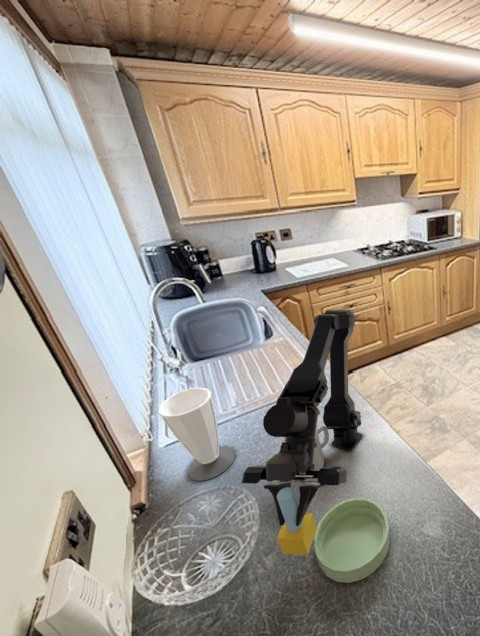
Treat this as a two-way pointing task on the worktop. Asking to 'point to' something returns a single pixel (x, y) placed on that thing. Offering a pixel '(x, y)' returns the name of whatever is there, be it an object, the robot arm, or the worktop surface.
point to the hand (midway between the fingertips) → (289, 525)
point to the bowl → (352, 540)
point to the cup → (197, 431)
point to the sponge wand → (294, 526)
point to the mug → (319, 447)
